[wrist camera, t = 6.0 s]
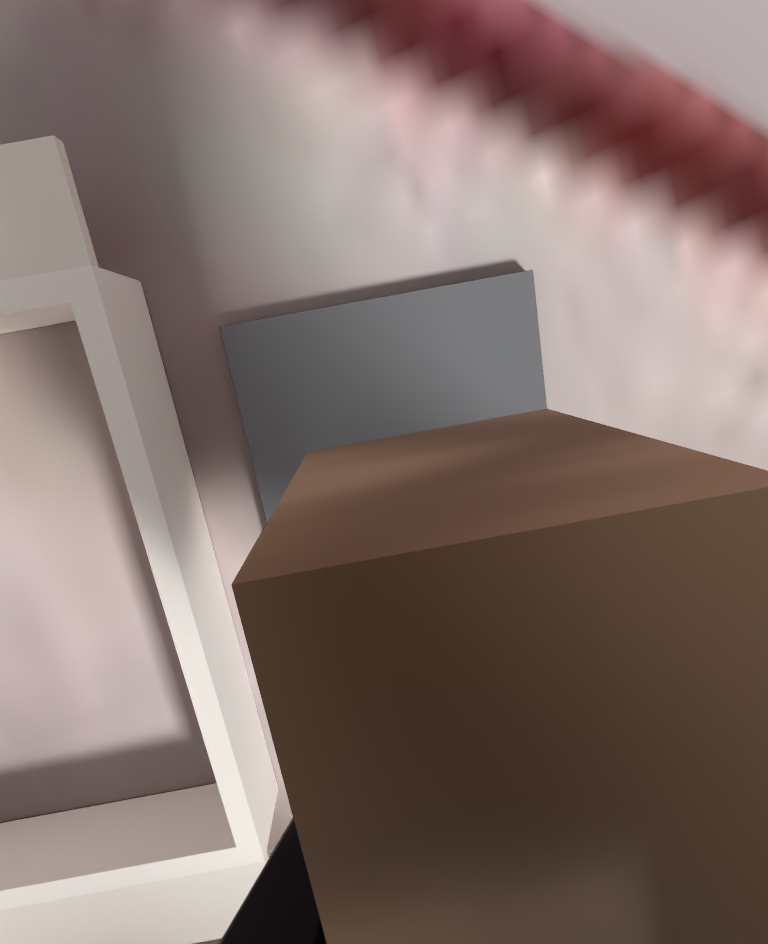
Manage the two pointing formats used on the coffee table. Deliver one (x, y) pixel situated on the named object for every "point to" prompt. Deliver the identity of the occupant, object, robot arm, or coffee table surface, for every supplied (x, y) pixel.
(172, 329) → the coffee table surface
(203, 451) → the coffee table surface
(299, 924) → the robot arm
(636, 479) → the box
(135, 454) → the white rectangular frame
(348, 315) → the charcoal mat
